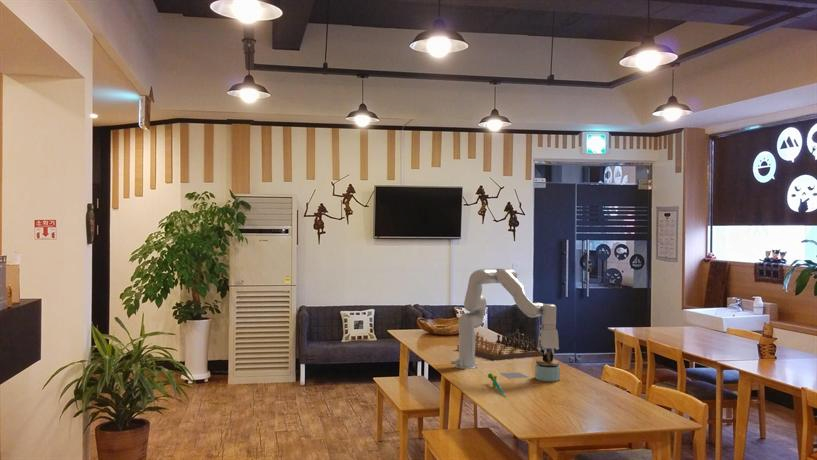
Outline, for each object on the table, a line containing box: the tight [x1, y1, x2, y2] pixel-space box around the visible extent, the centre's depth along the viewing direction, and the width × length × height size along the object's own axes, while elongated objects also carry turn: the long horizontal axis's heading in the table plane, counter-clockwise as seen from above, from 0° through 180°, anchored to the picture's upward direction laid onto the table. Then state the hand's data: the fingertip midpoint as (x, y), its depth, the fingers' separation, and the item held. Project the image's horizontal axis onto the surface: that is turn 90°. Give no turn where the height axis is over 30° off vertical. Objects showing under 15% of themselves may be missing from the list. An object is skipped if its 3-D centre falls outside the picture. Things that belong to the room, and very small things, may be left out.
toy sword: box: [487, 372, 506, 398], centre depth 341 cm, size 3×6×30 cm
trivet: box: [499, 372, 528, 379], centre depth 374 cm, size 12×12×1 cm
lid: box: [535, 351, 561, 366], centre depth 367 cm, size 12×12×6 cm
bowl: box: [534, 363, 561, 383], centre depth 367 cm, size 13×13×8 cm
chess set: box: [457, 328, 543, 361], centre depth 446 cm, size 40×40×15 cm
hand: (547, 360), depth 367 cm, fingers closed on lid, 2 cm apart
